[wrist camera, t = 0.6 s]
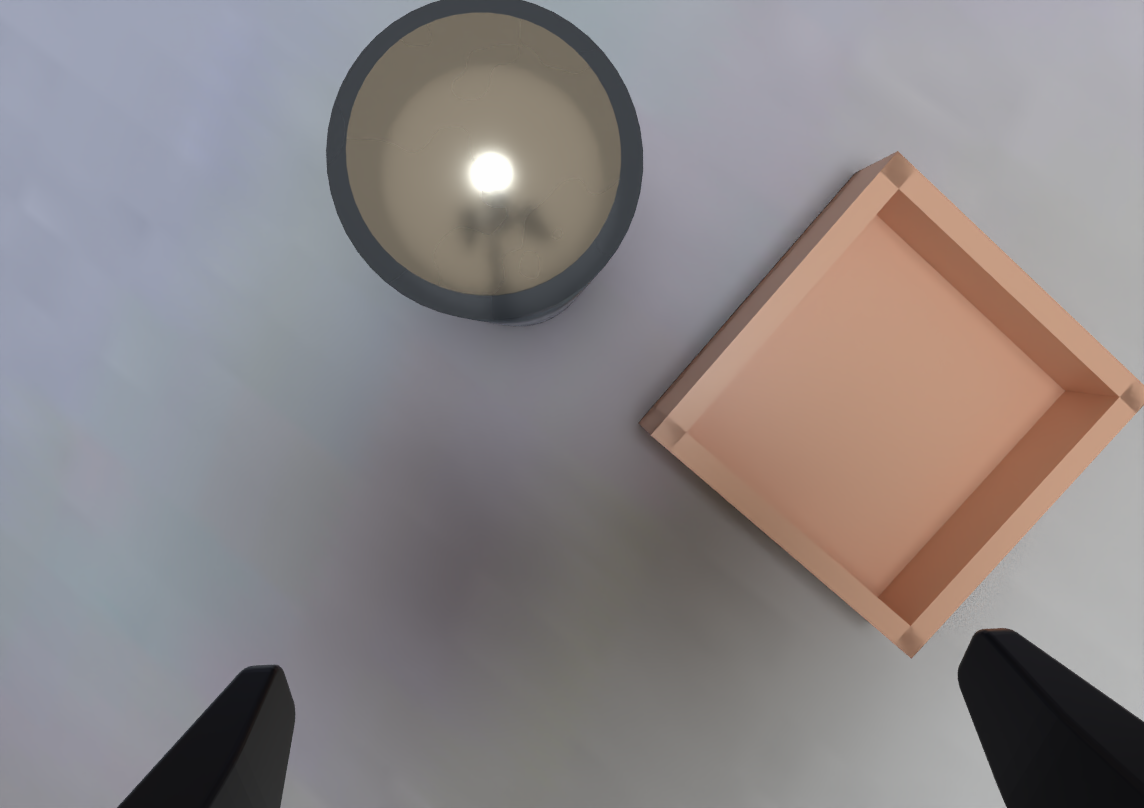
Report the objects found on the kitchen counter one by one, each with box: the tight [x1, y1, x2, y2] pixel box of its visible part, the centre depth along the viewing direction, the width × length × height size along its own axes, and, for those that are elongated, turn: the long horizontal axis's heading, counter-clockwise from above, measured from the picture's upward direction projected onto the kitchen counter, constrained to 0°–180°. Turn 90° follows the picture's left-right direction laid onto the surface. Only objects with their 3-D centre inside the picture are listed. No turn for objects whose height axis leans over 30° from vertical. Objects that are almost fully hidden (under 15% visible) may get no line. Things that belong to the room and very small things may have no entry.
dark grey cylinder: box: [326, 0, 643, 326], centre depth 18 cm, size 5×5×13 cm
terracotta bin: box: [639, 151, 1144, 659], centre depth 24 cm, size 12×12×3 cm
